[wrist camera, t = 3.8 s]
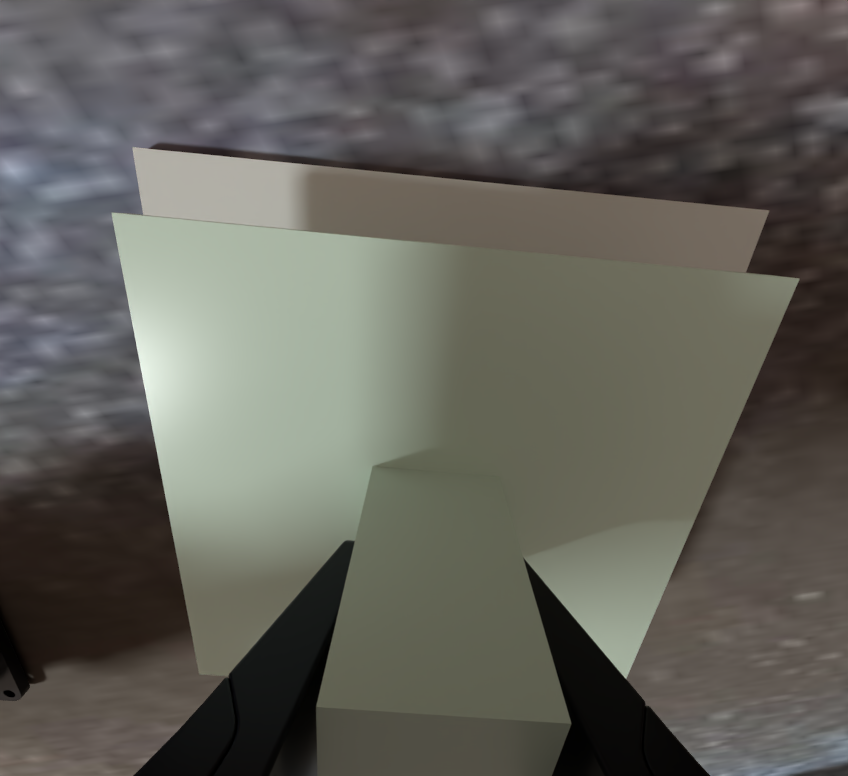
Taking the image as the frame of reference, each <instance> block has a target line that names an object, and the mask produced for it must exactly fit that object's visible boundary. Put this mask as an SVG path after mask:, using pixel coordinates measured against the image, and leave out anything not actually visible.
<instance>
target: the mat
mask: <svg viewBox="0 0 848 776" xmlns="http://www.w3.org/2000/svg"><path fill="white" fill-rule="evenodd" d="M132 148H133V154H134V161H135V167H136V173H137V179H138V185H139V191H140V197H141V203H142V209H143V215H150V216H161V217H171V218H181V219H192V220H202V221H213V222H223V223H234V224H244V225H254V226H265V227H275V228H286V229H296V230H307V231H317V232H327V233H338V234H348V235H359V236H369V237H380V238H390V239H400V240H411V241H421V242H432V243H442V244H453V245H463V246H473V247H484V248H494V249H505V250H515V251H526V252H536V253H546V254H557V255H567V256H578V257H588V258H599V259H609V260H619V261H630V262H640V263H651V264H661V265H672V266H682V267H692V268H703V269H713V270H724V271H734V272H745V273H746V271H747V268H748V265H749V263H750V260H751V258H752V255H753V252H754V250H755V247H756V245H757V242H758V239H759V237H760V234H761V231H762V229H763V226H764V224H765V221H766V218H767V216H768V213H769V210H759V209H749V208H739V207H729V206H719V205H709V204H699V203H689V202H679V201H669V200H659V199H649V198H638V197H628V196H618V195H608V194H598V193H588V192H578V191H568V190H558V189H548V188H538V187H528V186H518V185H508V184H498V183H488V182H477V181H467V180H457V179H447V178H437V177H427V176H417V175H407V174H397V173H387V172H377V171H367V170H357V169H347V168H337V167H327V166H316V165H306V164H296V163H286V162H276V161H266V160H256V159H246V158H236V157H226V156H216V155H206V154H196V153H186V152H176V151H165V150H155V149H145V148H135V147H132Z"/></svg>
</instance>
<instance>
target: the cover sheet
mask: <svg viewBox="0 0 848 776" xmlns="http://www.w3.org/2000/svg"><path fill="white" fill-rule="evenodd" d="M112 218H113V224H114V229H115V234H116V240H117V245H118V250H119V255H120V261H121V266H122V271H123V276H124V282H125V287H126V292H127V297H128V303H129V308H130V313H131V318H132V324H133V329H134V334H135V339H136V345H137V350H138V355H139V360H140V366H141V371H142V376H143V381H144V387H145V392H146V397H147V402H148V408H149V413H150V418H151V423H152V429H153V434H154V439H155V444H156V450H157V455H158V460H159V465H160V471H161V476H162V481H163V486H164V492H165V497H166V502H167V508H168V513H169V518H170V523H171V529H172V534H173V539H174V544H175V550H176V555H177V560H178V565H179V571H180V576H181V581H182V586H183V592H184V597H185V602H186V607H187V613H188V618H189V623H190V628H191V634H192V639H193V644H194V649H195V655H196V660H197V665H198V670H199V674H201V675H216V676H229V673H230V672H231V671H232V670H233V669H234V667H235V666H236V665H237V664H238V663H239V662H240V660H241V659H242V658H243V657H244V656H245V655H246V654H247V652H248V651H249V650H250V649H251V648H252V647H253V645H254V644H255V643H256V642H257V641H258V640H259V639H260V637H261V636H262V635H263V634H264V633H265V632H266V631H267V629H268V628H269V627H270V626H271V625H272V624H273V622H274V621H275V620H276V619H277V618H278V617H279V616H280V614H281V613H282V612H283V611H284V610H285V609H286V607H287V606H288V605H289V604H290V603H291V602H292V601H293V599H294V598H295V597H296V596H297V595H298V594H299V592H300V591H301V590H302V589H303V588H304V587H305V586H306V584H307V583H308V582H309V581H310V580H311V579H312V577H313V576H314V575H315V574H316V573H317V572H318V571H319V569H320V568H321V567H322V566H323V565H324V564H325V562H326V561H327V560H328V559H329V558H330V557H331V556H332V554H333V553H334V552H335V551H336V550H337V549H338V547H339V546H340V545H341V544H342V543H343V542H344V541H346V540H353V541H355V543H354V547H353V552H352V556H351V560H350V564H349V569H348V573H347V577H346V581H345V586H344V590H343V594H342V599H341V603H340V607H339V611H338V616H337V620H336V624H335V628H334V633H333V637H332V641H331V645H330V650H329V654H328V658H327V663H326V667H325V671H324V675H323V680H322V684H321V688H320V692H319V697H318V701H317V705H316V727H317V774H318V776H552V774H553V771H554V769H555V766H556V763H557V761H558V758H559V755H560V753H561V750H562V747H563V745H564V742H565V740H566V737H567V734H568V732H569V729H570V726H571V720H570V717H569V714H568V710H567V707H566V703H565V700H564V696H563V693H562V689H561V686H560V683H559V679H558V676H557V672H556V669H555V665H554V662H553V659H552V655H551V652H550V648H549V645H548V641H547V638H546V635H545V631H544V628H543V624H542V621H541V617H540V614H539V610H538V607H537V604H536V600H535V597H534V593H533V590H532V586H531V583H530V580H529V576H528V573H527V569H526V566H525V562H524V559H525V560H526V561H527V562H528V564H529V565H530V566H531V567H532V568H533V570H534V571H535V572H536V573H537V574H538V575H539V577H540V578H541V579H542V580H543V581H544V583H545V584H546V585H547V586H548V587H549V588H550V590H551V591H552V592H553V593H554V594H555V596H556V597H557V598H558V599H559V600H560V601H561V603H562V604H563V605H564V606H565V607H566V609H567V610H568V611H569V612H570V613H571V614H572V616H573V617H574V618H575V619H576V620H577V622H578V623H579V624H580V625H581V626H582V628H583V629H584V630H585V631H586V632H587V633H588V635H589V636H590V637H591V638H592V639H593V641H594V642H595V643H596V644H597V645H598V646H599V648H600V649H601V650H602V651H603V652H604V654H605V655H606V656H607V657H608V658H609V659H610V661H611V662H612V663H613V664H614V665H615V667H616V668H617V669H618V670H619V671H620V672H621V674H622V675H623V676H624V677H625V678H627V676H628V673H629V671H630V669H631V666H632V664H633V662H634V659H635V657H636V655H637V653H638V650H639V648H640V646H641V643H642V641H643V639H644V636H645V634H646V632H647V629H648V627H649V625H650V623H651V620H652V618H653V616H654V613H655V611H656V609H657V606H658V604H659V602H660V600H661V597H662V595H663V593H664V590H665V588H666V586H667V583H668V581H669V579H670V576H671V574H672V572H673V570H674V567H675V565H676V563H677V560H678V558H679V556H680V553H681V551H682V549H683V547H684V544H685V542H686V540H687V537H688V535H689V533H690V530H691V528H692V526H693V523H694V521H695V519H696V517H697V514H698V512H699V510H700V507H701V505H702V503H703V500H704V498H705V496H706V494H707V491H708V489H709V487H710V484H711V482H712V480H713V477H714V475H715V473H716V470H717V468H718V466H719V464H720V461H721V459H722V457H723V454H724V452H725V450H726V447H727V445H728V443H729V441H730V438H731V436H732V434H733V431H734V429H735V427H736V424H737V422H738V420H739V417H740V415H741V413H742V411H743V408H744V406H745V404H746V401H747V399H748V397H749V394H750V392H751V390H752V388H753V385H754V383H755V381H756V378H757V376H758V374H759V371H760V369H761V367H762V364H763V362H764V360H765V358H766V355H767V353H768V351H769V348H770V346H771V344H772V341H773V339H774V337H775V335H776V332H777V330H778V328H779V325H780V323H781V321H782V318H783V316H784V314H785V311H786V309H787V307H788V305H789V302H790V300H791V298H792V295H793V293H794V291H795V288H796V286H797V284H798V282H799V278H791V277H783V276H775V275H765V274H755V273H745V272H734V271H724V270H713V269H703V268H692V267H682V266H672V265H661V264H651V263H640V262H630V261H619V260H609V259H599V258H588V257H578V256H567V255H557V254H546V253H536V252H526V251H515V250H505V249H494V248H484V247H473V246H463V245H453V244H442V243H432V242H421V241H411V240H400V239H390V238H380V237H369V236H359V235H348V234H338V233H327V232H317V231H307V230H296V229H286V228H275V227H265V226H254V225H244V224H234V223H223V222H213V221H202V220H192V219H181V218H171V217H161V216H150V215H140V214H126V213H112ZM523 558H524V559H523Z"/></svg>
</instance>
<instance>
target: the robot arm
mask: <svg viewBox="0 0 848 776" xmlns="http://www.w3.org/2000/svg"><path fill="white" fill-rule="evenodd" d="M354 543H355V541H353V540H346V541H344V542H343V543H342V544H341V545H340V546H339V547H338V549H337V550H336V551H335V552H334V553H333V554H332V556H331V557H330V558H329V559H328V560H327V561H326V562H325V564H324V565H323V566H322V567H321V568H320V569H319V571H318V572H317V573H316V574H315V575H314V576H313V577H312V579H311V580H310V581H309V582H308V583H307V584H306V586H305V587H304V588H303V589H302V590H301V591H300V592H299V594H298V595H297V596H296V597H295V598H294V599H293V601H292V602H291V603H290V604H289V605H288V606H287V607H286V609H285V610H284V611H283V612H282V613H281V614H280V616H279V617H278V618H277V619H276V620H275V621H274V622H273V624H272V625H271V626H270V627H269V628H268V629H267V631H266V632H265V633H264V634H263V635H262V636H261V637H260V639H259V640H258V641H257V642H256V643H255V644H254V645H253V647H252V648H251V649H250V650H249V651H248V652H247V654H246V655H245V656H244V657H243V658H242V659H241V660H240V662H239V663H238V664H237V665H236V666H235V667H234V669H233V670H232V671H231V672H230V673H229V678H225V679H224V680H223V681H222V682H221V683H220V684H219V686H218V687H217V688H216V689H215V690H214V691H213V693H212V694H211V695H210V696H209V697H208V698H207V699H206V701H205V702H204V703H203V704H202V705H201V706H200V707H199V708H198V709H197V710H196V712H195V713H194V714H193V715H192V716H191V717H190V718H189V719H188V720H187V721H186V723H185V724H184V725H183V726H182V727H181V728H180V729H179V730H178V731H177V732H176V733H175V734H174V735H173V736H172V737H171V738H170V739H169V740H168V741H167V742H166V743H165V744H164V745H163V746H162V748H161V749H160V750H159V751H158V752H157V753H156V754H155V755H154V756H153V757H152V758H151V759H150V760H149V761H148V762H147V763H146V764H145V765H144V766H143V767H142V768H141V769H140V770H139V771H138V772H137V773H136V774H135V775H134V776H318V774H317V727H316V705H317V701H318V697H319V692H320V688H321V684H322V680H323V675H324V671H325V667H326V663H327V658H328V654H329V650H330V645H331V641H332V637H333V633H334V628H335V624H336V620H337V616H338V611H339V607H340V603H341V599H342V594H343V590H344V586H345V581H346V577H347V573H348V569H349V564H350V560H351V556H352V552H353V547H354ZM523 559H524V558H523ZM524 562H525V566H526V569H527V573H528V576H529V580H530V583H531V586H532V590H533V593H534V597H535V600H536V604H537V607H538V610H539V614H540V617H541V621H542V624H543V628H544V631H545V635H546V638H547V641H548V645H549V648H550V652H551V655H552V659H553V662H554V665H555V669H556V672H557V676H558V679H559V683H560V686H561V689H562V693H563V696H564V700H565V703H566V707H567V710H568V714H569V717H570V720H571V726H570V729H569V732H568V734H567V737H566V740H565V742H564V745H563V747H562V750H561V753H560V755H559V758H558V761H557V763H556V766H555V769H554V771H553V774H552V776H710V775H709V774H708V773H707V772H706V771H705V770H704V769H703V767H702V766H701V765H700V764H699V763H698V762H697V761H696V760H695V759H694V758H693V756H692V755H691V754H690V753H689V752H688V751H687V750H686V748H685V747H684V746H683V745H682V744H681V743H680V742H679V740H678V739H677V738H676V737H675V736H674V735H673V734H672V732H671V731H670V730H669V729H668V728H667V727H666V726H665V724H664V723H663V722H662V721H661V720H660V718H659V717H658V716H657V715H656V714H655V712H654V711H653V710H652V709H651V708H650V707H649V706H645V701H644V700H643V699H642V697H641V696H640V695H639V694H638V693H637V691H636V690H635V689H634V688H633V687H632V686H631V684H630V683H629V682H628V681H627V680H626V678H625V677H624V676H623V675H622V674H621V672H620V671H619V670H618V669H617V668H616V667H615V665H614V664H613V663H612V662H611V661H610V659H609V658H608V657H607V656H606V655H605V654H604V652H603V651H602V650H601V649H600V648H599V646H598V645H597V644H596V643H595V642H594V641H593V639H592V638H591V637H590V636H589V635H588V633H587V632H586V631H585V630H584V629H583V628H582V626H581V625H580V624H579V623H578V622H577V620H576V619H575V618H574V617H573V616H572V614H571V613H570V612H569V611H568V610H567V609H566V607H565V606H564V605H563V604H562V603H561V601H560V600H559V599H558V598H557V597H556V596H555V594H554V593H553V592H552V591H551V590H550V588H549V587H548V586H547V585H546V584H545V583H544V581H543V580H542V579H541V578H540V577H539V575H538V574H537V573H536V572H535V571H534V570H533V568H532V567H531V566H530V565H529V564H528V562H527V561H526V560H525V559H524ZM29 688H30V685H29V683H28V680H27V678H26V676H25V674H24V671H23V669H22V667H21V665H20V662H19V660H18V658H17V656H16V653H15V651H14V649H13V647H12V644H11V642H10V640H9V638H8V635H7V633H6V631H5V629H4V626H3V624H2V622H1V620H0V700H8V701H17V700H19V699H21V697H22V696H23V695H24V694H25V693H26V692H27V691H28V689H29Z"/></svg>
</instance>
